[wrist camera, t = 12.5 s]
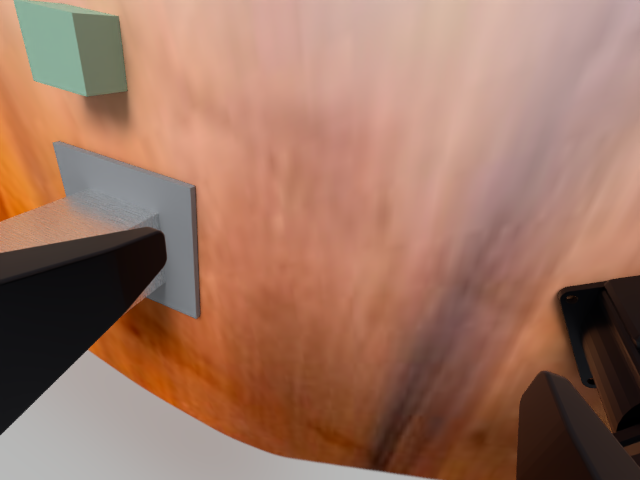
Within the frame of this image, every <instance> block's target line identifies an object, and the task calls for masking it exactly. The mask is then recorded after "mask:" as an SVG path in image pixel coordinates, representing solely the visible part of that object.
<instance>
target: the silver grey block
mask: <svg viewBox="0 0 640 480" xmlns="http://www.w3.org/2000/svg"><path fill="white" fill-rule="evenodd" d="M142 227H152V228H154V229H157V230H160V223H159V214H158V213H157V212H154V211H151V210H149V209H146V208H143V207H140V206H138V205H135V204H132V203H129V202H126V201H124V200H121V199H118V198H115V197H112V196H110V195H107V194H104V193H101V192H98V191H96V190H93V189H90V188H89V189H86V190H83V191H81V192H78V193H75V194H73V195H70V196H67V197H65V198H62V199H60V200H57V201H54V202H52V203H49V204H46V205H44V206H41V207H38V208H36V209H33V210H31V211H28V212H25V213H23V214H20V215H17V216H15V217H12V218H9V219H7V220H4V221H2V222H0V253H2V252H8V251H14V250H19V249H25V248H30V247H36V246H41V245H47V244H53V243H58V242H64V241H69V240H75V239H80V238H86V237H92V236H97V235H103V234H108V233H114V232H119V231H125V230H131V229H136V228H142ZM165 282H166V280H165V270H164V267H163V269H162V270H161V271H160V272H159V273H158V274H157V276H156V277H155V278H154V279H153V280H152V282H151V283H150V284H149V285H148V286H147V288H146V289H145V290H144V291H143V292H142V294H141V295H140V296H139V297H138V298H137V300H136V301H135V302H134V303H133V304H132V305H131V307H130V308H129V309H128V310H127V311H126V312H128V311H129V310H130V309H131V308H133V307H134V306H135V305H136V304H138V303H139V302H140V301H142V300H143V299H144V298H145V297H147V296H148V295H149V294H151V293H152V292H153V291H154V290H156V289H157V288H158V287H160V286H161V285H162V284H163V283H165ZM126 312H125V313H126ZM125 313H124V314H125ZM124 314H123V315H124Z"/></svg>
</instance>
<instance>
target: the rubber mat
mask: <svg viewBox="0 0 640 480" xmlns="http://www.w3.org/2000/svg"><path fill="white" fill-rule="evenodd" d="M53 146H54V150H55V154H56V158H57V162H58V165H59V169H60V173H61V177H62V181H63V185H64V189H65V193H66V197H67V196H70V195H73V194H75V193H78V192H81V191H83V190H86V189H89V188H90V189H93V190H96V191H98V192H101V193H104V194H107V195H110V196H112V197H115V198H118V199H121V200H124V201H126V202H129V203H132V204H135V205H138V206H140V207H143V208H146V209H149V210H151V211H154V212H157V213H158V214H159V223H160V231H162V232H163V233H164V235H165V241H166V251H167V261H166V264H165V266H164V270H165V280H166V282H165V283H163V284H162V285H161V286H160V287H158V288H157V289H156V290H154V291H153V292H152V293H151V294H149V295H148V296H147V297H146V298H149V299H151V300H153V301H156V302H158V303H160V304H163V305H165V306H167V307H170V308H172V309H174V310H177V311H179V312H181V313H184V314H186V315H188V316H191V317H193V318H195V319H197V318H198V317H199V316H200V298H199V273H198V247H197V222H196V196H195V186H194V185H191V184H188V183H185V182H182V181H179V180H176V179H173V178H170V177H167V176H164V175H161V174H158V173H155V172H152V171H148V170H145V169H142V168H139V167H136V166H133V165H130V164H127V163H124V162H121V161H118V160H115V159H112V158H109V157H106V156H103V155H100V154H97V153H94V152H91V151H88V150H85V149H82V148H79V147H75V146H72V145H69V144H66V143H63V142H60V141H58V142H54V143H53Z"/></svg>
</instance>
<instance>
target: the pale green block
mask: <svg viewBox="0 0 640 480" xmlns="http://www.w3.org/2000/svg"><path fill="white" fill-rule="evenodd" d="M14 4H15V8H16V12H17V16H18V20H19V24H20V28H21V32H22V36H23V40H24V44H25V48H26V52H27V56H28V59H29V63H30V67H31V71H32V75H33V79H34V81H36V82H40V83H43V84H46V85H50V86H53V87H56V88H60V89H63V90H66V91H70V92H73V93H76V94H80V95H83V96H86V97H88V96H96V95H103V94H110V93H117V92H124V91H128V90H127V82H126V74H125V65H124V57H123V49H122V41H121V32H120V24H119V16H115V15H111V14H106V13H102V12H98V11H93V10H89V9H85V8H80V7H76V6H72V5H67V4H60V3H50V2H40V1H29V0H14Z"/></svg>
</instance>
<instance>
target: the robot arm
mask: <svg viewBox="0 0 640 480" xmlns="http://www.w3.org/2000/svg"><path fill="white" fill-rule="evenodd" d="M166 261H167V251H166V241H165V235H164V233H163V232H162V231H160V230H157V229H154V228H152V227H142V228H136V229H131V230H125V231H119V232H114V233H108V234H103V235H97V236H92V237H86V238H80V239H75V240H69V241H64V242H58V243H53V244H47V245H41V246H36V247H30V248H25V249H19V250H14V251H8V252H2V253H0V435H1V434H2V433H3V432H4V431H5V430H6V429H7V428H8V427H9V426H10V425H11V424H12V423H13V422H14V421H15V420H16V419H17V418H18V417H19V416H21V415H22V414H23V413H24V411H26V410H27V409H28V408H29V407H30V406H31V405H32V404H33V403H34V402H35V400H37V399H38V398H39V397H40V396H41V395H42V394H43V393H44V392H45V391H46V390H47V389H48V388H49V387H50V386H51V385H52V384H53V383H54V382H55V381H56V380H57V379H58V378H59V377H60V376H61V375H62V374H63V373H64V372H65V371H66V370H67V369H68V368H69V367H70V366H71V365H72V364H73V363H74V362H75V361H76V360H77V359H78V358H80V357H81V355H83V354H84V353H85V352H86V351H87V350H88V349H89V348H90V347H91V346H92V345H93V344H94V343H95V342H96V341H97V340H98V339H99V338H100V337H101V336H102V335H103V334H104V333H105V332H106V331H107V330H108V329H109V328H110V327H111V326H112V325H113V324H114V323H115V322H116V321H117V320H118V319H119V318H120V317H121V316H122V315H123V314H124V313H125V312H126V311H127V310H128V309H129V308H130V307H131V305H132V304H133V303H134V302H135V301H136V300H137V298H138V297H139V296H140V295H141V294H142V292H143V291H144V290H145V289H146V288H147V286H148V285H149V284H150V283H151V282H152V280H153V279H154V278H155V277H156V276H157V274H158V273H159V272H160V271H161V270H162V269H163V267H164V266H165V264H166ZM570 295H574V296H576V297H575V298H573V299H567V297H568V296H570ZM558 297H559V301H560V304H561V308H562V312H563V315H564V319H565V323H566V327H567V330H568V334H569V338H570V341H571V345H572V349H573V352H574V356H575V360H576V364H577V367H578V371H579V375H580V378H581V381H582V383H583V384H584V385H585V386H587V387H589V388H597V390H598V393H599V395H600V398H601V401H602V404H603V407H604V409H605V412H606V415H607V418H608V421H609V423H610V426H611V429H612V432H613V433H611V432H610V430H609V429H608V428H607V427H606V426H605V424H604V423H603V422H602V421H601V419H600V418H599V417H598V416H597V415H596V413H595V412H594V411H593V410H592V408H591V407H590V406H589V405H588V404H587V402H586V401H585V400H584V399H583V397H582V396H581V395H580V394H579V393H578V391H577V390H576V389H575V388H574V386H573V385H572V384H571V383H570V382H569V381H568V380H567V379H566V378H565V377H562V376H560V375H557V374H554V373H551V372H549V371H541V372H540V373H539V374H538V375H537V376H536V377H535V379H534V380H533V381H532V383H531V384H530V386H529V387H528V388H527V390H526V391H525V392H524V394H523V395H522V398H521V401H520V408H519V429H518V450H517V475H516V480H640V275H639V276H632V277H625V278H618V279H612V280H609V281H604V282H597V283H590V284H583V285H577V286H570V287H565V288H563V289H561V290H560V292H559V293H558ZM589 378H593V379H589Z"/></svg>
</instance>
